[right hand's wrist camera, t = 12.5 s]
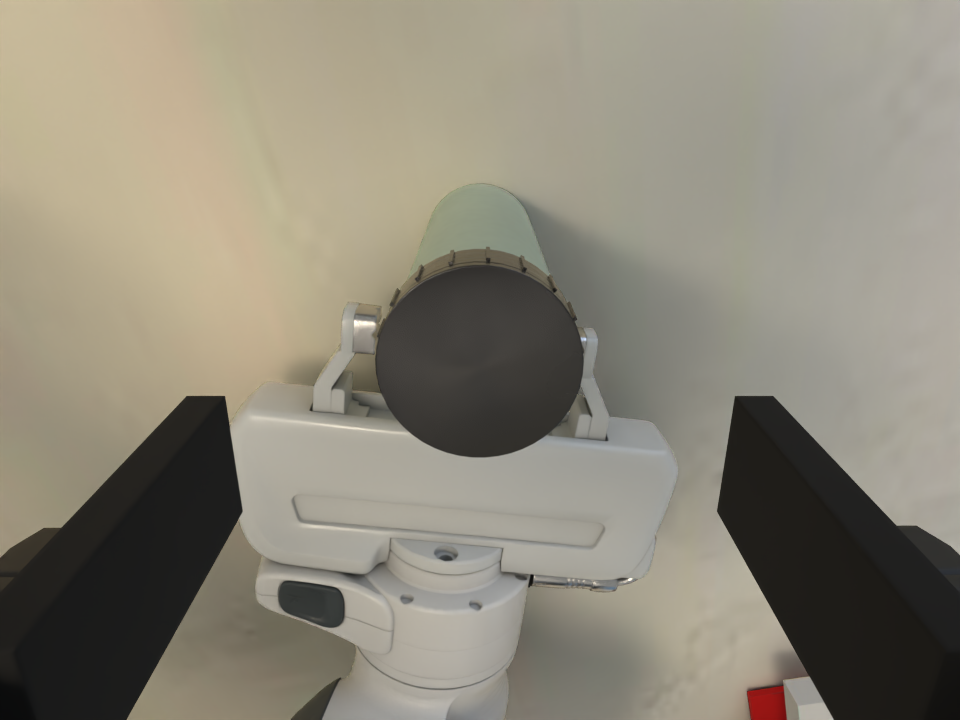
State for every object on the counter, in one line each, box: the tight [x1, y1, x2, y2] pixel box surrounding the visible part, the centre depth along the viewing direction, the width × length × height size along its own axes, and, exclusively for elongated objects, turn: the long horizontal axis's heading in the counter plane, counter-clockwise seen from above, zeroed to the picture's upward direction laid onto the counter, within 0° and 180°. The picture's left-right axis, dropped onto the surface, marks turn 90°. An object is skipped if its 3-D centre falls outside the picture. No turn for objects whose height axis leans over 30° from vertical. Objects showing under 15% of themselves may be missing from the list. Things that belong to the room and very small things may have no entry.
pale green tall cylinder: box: [407, 184, 550, 280], centre depth 26 cm, size 5×5×17 cm
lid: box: [375, 247, 584, 458], centre depth 19 cm, size 6×6×2 cm
